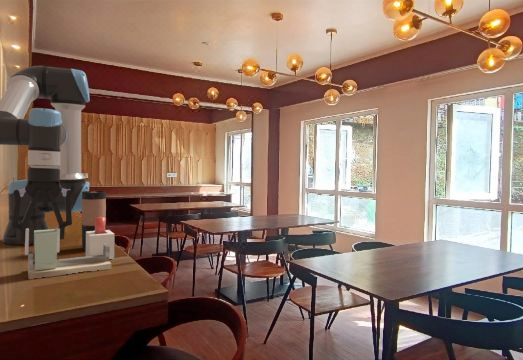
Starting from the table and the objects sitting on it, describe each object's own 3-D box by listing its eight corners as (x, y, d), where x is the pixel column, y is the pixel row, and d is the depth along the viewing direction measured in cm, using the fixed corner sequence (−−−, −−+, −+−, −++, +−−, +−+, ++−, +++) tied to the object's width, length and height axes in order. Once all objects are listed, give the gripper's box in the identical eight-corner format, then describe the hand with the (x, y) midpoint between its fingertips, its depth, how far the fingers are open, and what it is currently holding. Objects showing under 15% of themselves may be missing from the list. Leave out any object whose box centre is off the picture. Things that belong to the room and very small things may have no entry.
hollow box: (85, 256, 119) (85, 231, 119) (108, 253, 123) (109, 229, 122) (89, 262, 112) (90, 235, 112) (114, 259, 116) (114, 233, 116)
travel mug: (96, 251, 125) (96, 192, 124) (76, 250, 126) (76, 191, 126) (110, 246, 132) (110, 191, 132) (91, 245, 134) (91, 190, 133)
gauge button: (94, 232, 118) (94, 217, 117) (104, 232, 119) (104, 216, 119) (95, 234, 115) (95, 218, 115) (106, 233, 117) (106, 218, 117)
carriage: (34, 264, 102) (34, 230, 101) (54, 262, 104) (54, 228, 104) (35, 270, 97) (35, 234, 96) (56, 267, 99) (56, 232, 99)
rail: (27, 270, 102) (27, 249, 102) (105, 261, 113) (105, 242, 113) (28, 279, 95) (28, 256, 94) (111, 268, 106) (111, 248, 105)
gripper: (-1, 166, 91) (-3, 259, 91) (86, 168, 101) (83, 252, 102) (0, 165, 97) (-2, 252, 98) (82, 168, 108) (79, 246, 108)
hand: (42, 252), depth 100 cm, fingers open, 6 cm apart
